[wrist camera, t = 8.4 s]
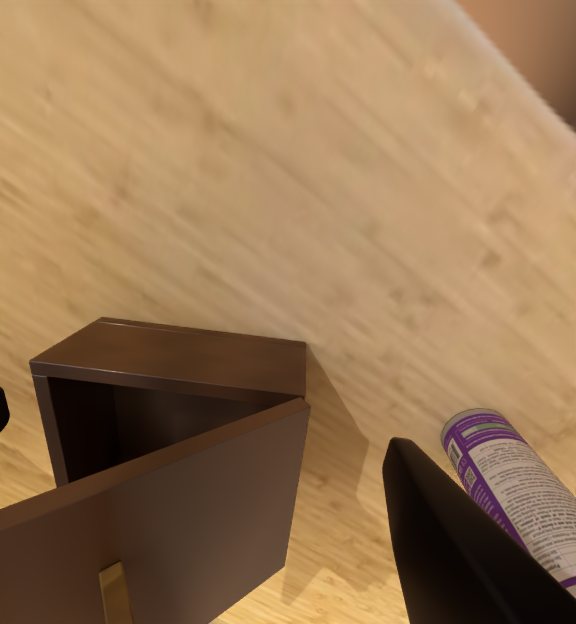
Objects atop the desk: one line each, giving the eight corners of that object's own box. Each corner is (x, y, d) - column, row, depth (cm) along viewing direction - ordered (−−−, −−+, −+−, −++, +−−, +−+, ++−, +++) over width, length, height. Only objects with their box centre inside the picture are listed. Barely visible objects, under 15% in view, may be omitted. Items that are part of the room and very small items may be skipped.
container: (483, 468, 23) (750, 884, 9) (427, 447, 23) (619, 849, 9) (523, 422, 22) (923, 844, 8) (464, 398, 21) (770, 798, 7)
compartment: (117, 451, 25) (64, 523, 19) (101, 316, 21) (27, 360, 15) (287, 473, 25) (281, 552, 19) (306, 341, 20) (305, 395, 15)
